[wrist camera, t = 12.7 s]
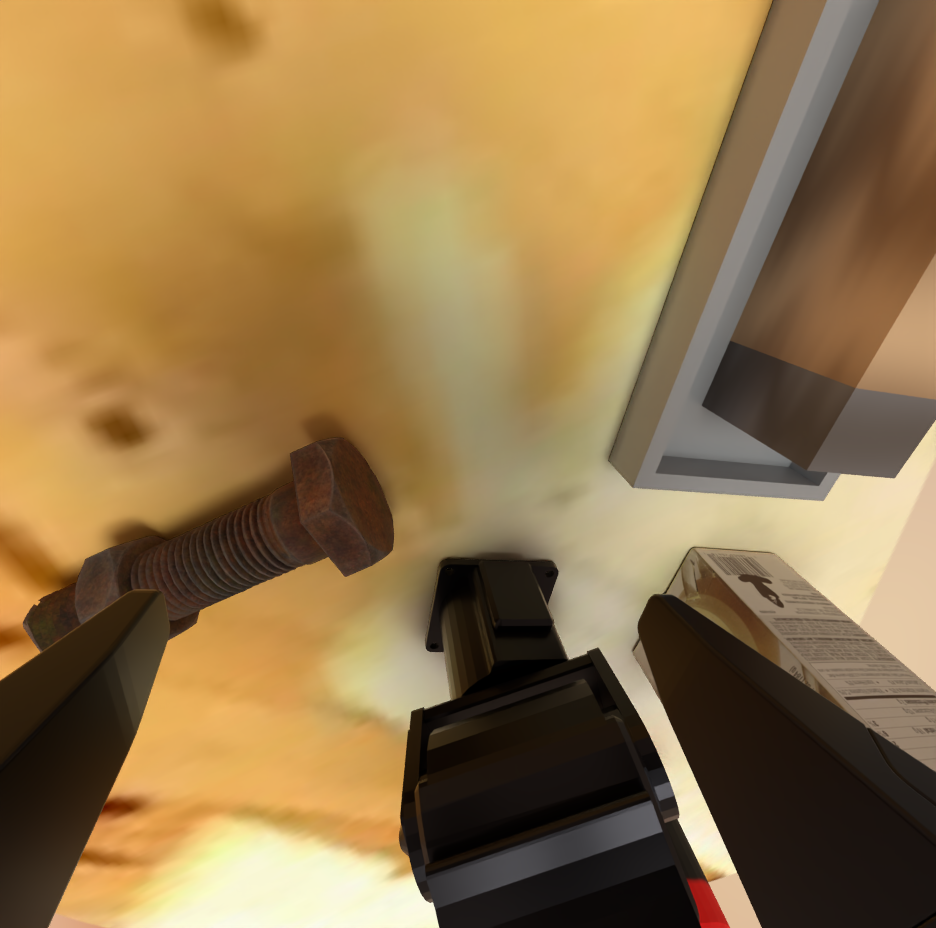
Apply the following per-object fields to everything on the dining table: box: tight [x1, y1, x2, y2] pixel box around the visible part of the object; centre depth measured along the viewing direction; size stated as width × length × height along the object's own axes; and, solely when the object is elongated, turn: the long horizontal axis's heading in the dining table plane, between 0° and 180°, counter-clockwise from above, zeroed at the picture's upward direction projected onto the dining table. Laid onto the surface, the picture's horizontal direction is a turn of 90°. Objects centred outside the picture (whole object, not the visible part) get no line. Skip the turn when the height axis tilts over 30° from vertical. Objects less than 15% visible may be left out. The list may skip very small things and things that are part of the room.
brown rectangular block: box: [702, 0, 936, 478], centre depth 16 cm, size 14×4×6 cm, turn 170°
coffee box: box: [633, 548, 936, 772], centre depth 22 cm, size 9×6×16 cm
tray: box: [609, 0, 879, 501], centre depth 18 cm, size 20×11×2 cm, turn 170°
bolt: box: [23, 438, 394, 652], centre depth 19 cm, size 6×5×15 cm
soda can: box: [665, 819, 730, 928], centre depth 32 cm, size 8×8×12 cm
